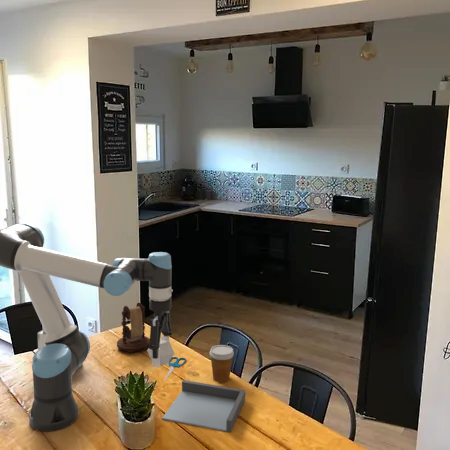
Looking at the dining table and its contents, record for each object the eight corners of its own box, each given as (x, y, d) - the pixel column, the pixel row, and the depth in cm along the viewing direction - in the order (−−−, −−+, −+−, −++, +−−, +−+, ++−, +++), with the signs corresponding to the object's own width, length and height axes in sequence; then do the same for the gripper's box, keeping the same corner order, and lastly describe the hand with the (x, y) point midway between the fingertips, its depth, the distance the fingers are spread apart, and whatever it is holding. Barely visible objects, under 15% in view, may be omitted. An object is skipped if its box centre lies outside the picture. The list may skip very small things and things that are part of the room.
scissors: (187, 358, 195) (172, 381, 176) (187, 360, 196) (172, 384, 176) (171, 356, 197) (155, 379, 177) (171, 358, 197) (155, 382, 178)
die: (178, 361, 163) (168, 335, 166) (175, 359, 155) (165, 333, 158) (156, 370, 162) (147, 344, 165) (152, 369, 154) (143, 342, 157)
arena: (230, 432, 146) (231, 420, 146) (162, 419, 153) (162, 408, 152) (245, 400, 165) (245, 390, 164) (183, 389, 171) (183, 379, 170)
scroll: (128, 357, 196) (127, 312, 192) (110, 346, 207) (109, 303, 203) (157, 348, 206) (156, 305, 202) (139, 337, 216) (138, 296, 213)
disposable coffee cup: (212, 386, 174) (212, 356, 172) (206, 374, 183) (207, 345, 181) (236, 383, 177) (237, 353, 175) (229, 371, 186) (230, 343, 184)
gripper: (160, 309, 146) (161, 375, 149) (180, 288, 167) (180, 347, 171) (138, 307, 147) (139, 373, 151) (160, 287, 168) (160, 345, 172)
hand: (160, 359), depth 161 cm, fingers closed on die, 9 cm apart
